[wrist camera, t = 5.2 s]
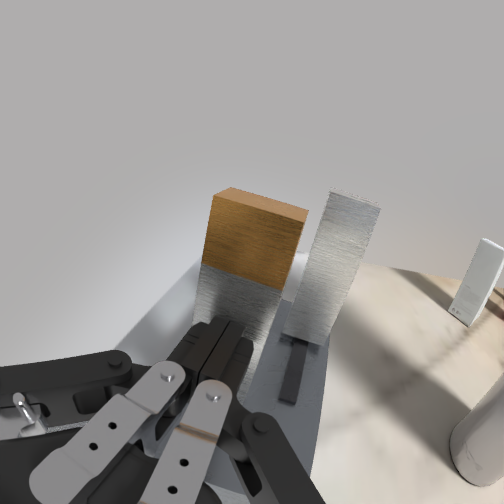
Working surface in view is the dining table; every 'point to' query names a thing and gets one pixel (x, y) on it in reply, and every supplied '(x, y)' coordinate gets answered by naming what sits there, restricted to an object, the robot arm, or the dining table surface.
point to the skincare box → (478, 282)
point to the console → (277, 402)
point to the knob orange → (247, 265)
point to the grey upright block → (331, 265)
